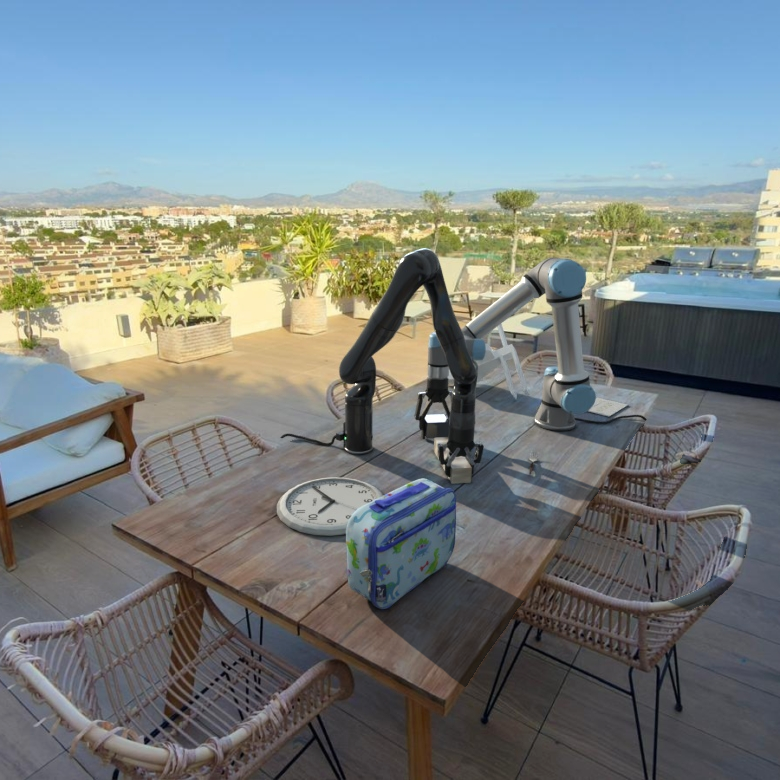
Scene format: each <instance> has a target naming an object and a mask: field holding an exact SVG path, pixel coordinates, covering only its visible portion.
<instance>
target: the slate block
mask: <svg viewBox="0 0 780 780" xmlns="http://www.w3.org/2000/svg"><path fill="white" fill-rule="evenodd" d="M424 420H425V422H426V425H425V439H434V438H439V437H448V435H449V421H448V417H447V415H445V414H444V413H442V414H427V415H426V417H425V419H424Z"/></svg>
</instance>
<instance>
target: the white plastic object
mask: <svg viewBox="0 0 780 780" xmlns="http://www.w3.org/2000/svg"><path fill="white" fill-rule="evenodd" d="M502 324H503V323H501V324H500V325H499V326H497V327H496V328H497V332H498V335H499V338H500V342H501V345H502V347H500V348H498V349H496V350H495V349H493V348H492V347H491V346H490V344H489V343H488V342H487V343H485V346H486V351H485V357H484V359H483V360H479V361H476V362H477V364H478V376H477V383H480V382H482V381H484V378H485V377H486V376H487V375H489V374H490V373H492V372H494V371H495V370H496V369H497V368H499V367H500V366H502V370H503V373H504V376H505V380H506V383H507V386H508V390H509V393H510V394H511V395H512V397H513V398H514V399H515V400H517V392H516V391H517V390H516V388H515V385H514V381H513V378H512V375H511V371H510V369H509V365H508V361H510V360H513V363H514V366H515V369H516V372H517V376H518V380H519V382H520V385H521V389H522V391H523V393H524V395H525V396H526V397H528V396H531V395H530V390H529V388H528V387H529V386H528V384H527V381H526V378H525V375H524V371H523V369H522V368H523V367H522V366H521V362H520V359H519V355H518V352H517V349H516V347H515V346H514V345H513V343H511V344H508V341H507V337H506V334H505V331H504V328H503V325H502ZM448 379H449V380H448V386H449V385H454V378H453V377H452V375H451V372H450V370H449V376H448Z"/></svg>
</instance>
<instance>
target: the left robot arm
mask: <svg viewBox="0 0 780 780" xmlns="http://www.w3.org/2000/svg"><path fill="white" fill-rule="evenodd" d="M421 287H423V288H424V289H425V292H426V294H427V297H428V301H429V305H430V313H431V322H432V327H433V331H434V332H435V333H436V336H437V338H438V340H439V342H440V345H441V347H442V349H443V351H444V353H445V356H446V360H447V363H448V367H449V370H450V372H451V375H452V377H453V378H454V384H453V390H452V391H453V392H452V391H451V392H452V398H450V410H449V411H450V417H449V435H448V442H447V444H442V445H441V444H438V445H437V446H438V456H439V460H438V461H439V463H440V465H441V466H442V465H445V471H444V474H445V476H446V477H447V478H448V477H450V471H451V466H450V465H451V463H452V461H454V459H455V457H460V456H462V457H465V458H466V459H467V461H468V463H469V464H470V466H471V467H472V474H471V477H472V475H474V473H475V465H476V464H480V463H481V461H482V457H483V452H484V449H485V446H484V444H483V443H482V442H481V441H478V442H475V429H476V428H475V427H476V402H477V401H476V399H477V398H476V395H477V394H476V389H477V383H478V382H477V376H478V364H477V362H476V360H475V359H474V358H472V357H471V356H470V355H469V352H468V350H467V347H466V340H465V337H464V335H463V333H462V330H461V329H462V327H461V326H460V324H459V321H458V319H457V316H456V314H455V311H454V309H453V306H452V302H451V299H450V296H449V292H448V289H447V284H446V281H445V277H444V272H443V269H442V266H441V262H440V260H439V257H438V256H437V254H436V253H435V252H434V251H433V250H432V249H429V248H420V249H417V250H414V251H411V252H409V253H407V254H405V255H404V256H403V257H402V258H401V259H400V261H399V262H398V265H397V267H396V269H395V271H394V274H393V276H392V279H391V281H390V283H389V285H388V287H387V289H386V291H385V292H384V294H383V295H382V297H381V298H380V300H379V301H378V303H377V305H376V306H375V308H374V309H373V311H372V313H371V315H370V316H369V318H368V320H367V322H366V324H365V325H364V327H363V329H362V330H361V332H360V333H359V335H358V337H357V339H356V340H355V342H354V343H353V345H352V346H351V347H350V348H349V350H348V352H346V354H345V355H344V356H343V358H342V359H341V361H340V362H339V367H338V374H339V378H340V380H341V381H342V382H343V383H345V384H346V385H352V387H351V388H350V389H349V390H348V391H346V393H345V395H344V421H343V422H342V423H343V424H342V429H343V430H341V431H338V432H336V433H335V435H333V436H332V439H331V441H330V442H323V441H321V440H318V439H313V438H309V437H306V436H303V435H298V434H294V433H284V434H282V435H281V436H280V439H285V438H286V437H291V438H295V439H301V440H303V441H307V442H310V443H316V444H319V445H321V446H332V445H334V443H335V440H337V441H339V442H342V441H343V442H342V443H343V449H344V450H345V452H346V453H348V454H351V455H366V454H369V453H371V452H372V451H373V448H374V446H373V434H374V433H373V429H374V428H373V425H374V424H373V422H374V420H373V417H374V415H373V414H374V409H373V408H374V402H373V401H374V396H375V393H376V383H377V381H376V380H377V366H376V361H375V359H374V358H373V356H374V355H376V354H377V353H378V352H379V351H380V350H382V349H383V348H384V347H385V346H387V345H388V344H389V343H390V342H391V341H392V340H393V339H394V337H395V336H396V334H397V333H398V332H399V330H400V329H401V326H402V325H403V323H404V320H405V315H406V309H407V307H408V304H409V303H410V300H411V299H412V298H413V297H414V295H415V294H416V293H417V292H418V290H419V289H420V288H421ZM446 448H448V449H449V450H450V451H449V452H448V454H447V457H446V459H444V452H445V450H446ZM474 449H475V453H474V457H473V456H472V453H471V452H472V451H473V450H474Z"/></svg>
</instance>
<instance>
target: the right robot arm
mask: <svg viewBox="0 0 780 780" xmlns="http://www.w3.org/2000/svg"><path fill="white" fill-rule="evenodd" d="M586 284H587V273H586V271H585V269H584V267H583V266H582V265H581V264H580V263H578V262H577V261H576V260H573V259H570V258H561V257H554V256H553V257H549V258H546V259H544V260H542V261H540V262H539V263H538V264H536V266H534V267H533V268H531V269H530V270H529V271H528V272H527V273H525V274H524V275H523V276H522V277H521V281H520V282H518V283H517V284H516V285H515V286H513V287H511V289H510V290H508V291H507V292H506V293H505V294H503V295H502V296H501V297H500V298H498V299H497V300H496V301H494V302H493V303H492V304H491V305H489V306H488V307H487V308H485V309H484V310H483V311H482V312H480V313H479V314H478V315H477V316H476V317H474V318H473V319H472V320H470V321H469V322H467V324H466V325H464V326H462V327H461V330H462V333H463V335H464V337H465V340H466V347H467V350H468V352H469V355H470V356H471V357H472V358H474V359H475V360H476V361H479V360H483V359H484V357H485V351H486V346H485V344H486V342H485V340H484V339H483V338H484V337H486V336H487V335H488V334H489V333H491V332H492V331H493V330H495V329H496V328H497V326H499V325H500V324H503V323H504V322H505V321H506V320H508V319H510V318H511V317H512V316H513V315H514V314H515V313H517V312H518V311H520V310H521V309H522V308H523V307H525V306H526V305H527V304H528V303H530V302H531V301H532V300H534V299H540V298H541V297H542V296H543V295H545V300H546V304H548V305H549V306H550V307H551V312H552V313H551V314H552V323H553V324H552V325H553V331H554V332H553V333H554V334H553V335H554V342H555V353H556V361H557V366H548V367H546V368H545V370H544V373H543V381H542V382H543V383H542V394H541V402H540V405H539V406H536V407H535V411H536V413H535V416H534V424H535V425H536V426H537V427H539V428H542V429H544V430H549V431H556V432H567V431H572V430H574V429H575V428H576V421H577V422H583V423H588V424H589V423H590V424H598V425H605V424H610V423H612V422H614V421H617V420H620V419H629V418H630V419H631V418H641V419H643V420H644V421H647V418H646V417H645V416H644V415H641V414H627V415H620V416H616V417H614V418H611V419H609V420H603V421H601V420H590V419H585V418H584V419H583V418H579V417H576V416H577V415H582V414H586V413H588V410H590V408H591V407H592V406H593V405H594V403H595V400H596V397H597V395H596V391H595V390H594V388H593V387H592V386H591V382H590V372H588V371H587V370H586V369H585V365H584V356H583V344H582V331H581V320H580V310H579V308H580V307H579V303H580V302H581V300H582V299H583V289H584V288H585V287H586ZM426 369H427V373H426V376H427V377H426V389H425V391H422V392H421V391H418V392H417V402H416V407H415V411H414V416H413V417H414V419H415V421H418V427H419V430H420V431H421V434H420V435H421V438H422V440H425V439H426V436H425V425H426V422H425V420H424V419H425V417H426V415H428V413H429V411H430V409H431V407H432V405H433V404H435V403H438V404H441V405H442V408H443V409H444V412H445V414H446V418H447V419H448V421H449V417H450V411H451V410H450V409H449V406H448V403H447V401H446V399H447V397H449V398H450V399H451V398H452V392H453V390H452V391H450V390H449V385H448V380H449V379H448V376H449V367H448V363H447V360H446V356H445V353H444V351H443V349H442V347H441V345H440V342H439V340H438V338H437V336H436V333H435V331H434V332H431V333H430V334H429V336H428V345H427V368H426ZM425 396H426V397H427V399H426V402H425V404H424V407H423V402H424V399H425ZM422 407H423V409H422Z"/></svg>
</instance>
